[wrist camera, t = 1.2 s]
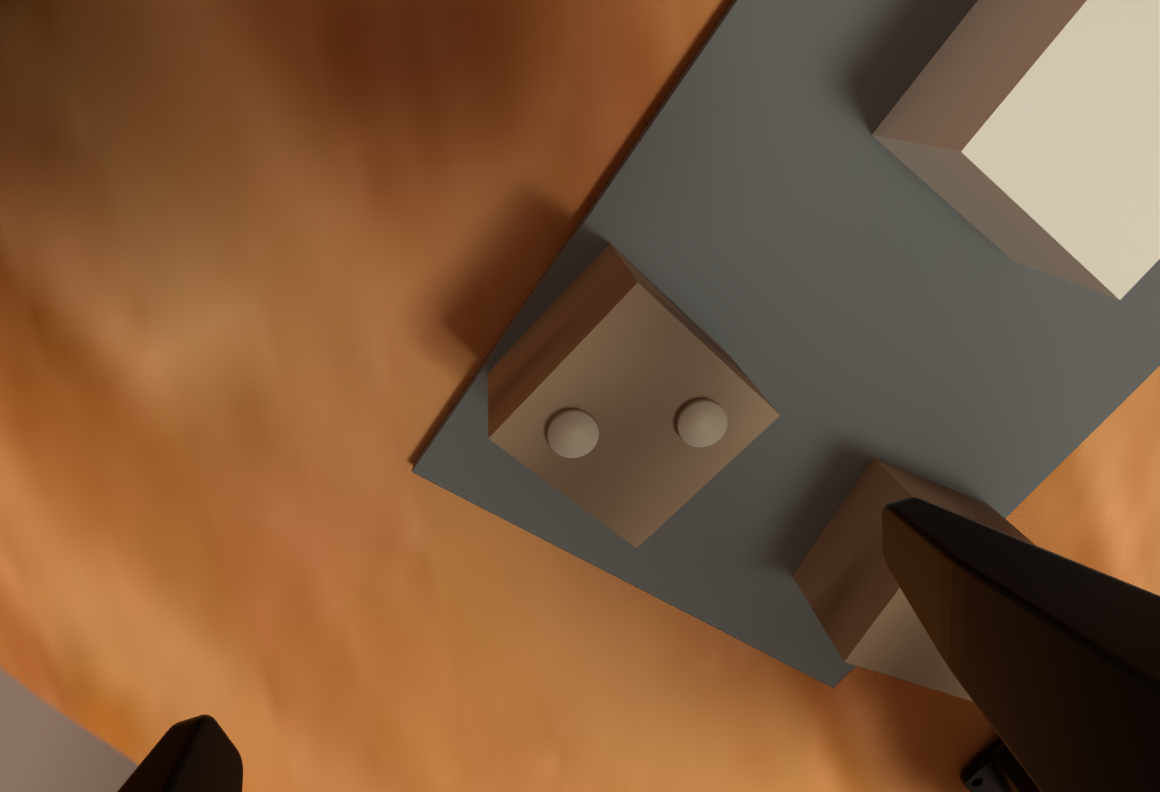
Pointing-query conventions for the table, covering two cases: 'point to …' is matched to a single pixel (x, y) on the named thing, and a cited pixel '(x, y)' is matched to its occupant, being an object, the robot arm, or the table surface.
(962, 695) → the pip block one
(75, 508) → the table surface
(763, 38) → the mat
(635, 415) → the pip block two
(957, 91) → the plain block
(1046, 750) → the robot arm
